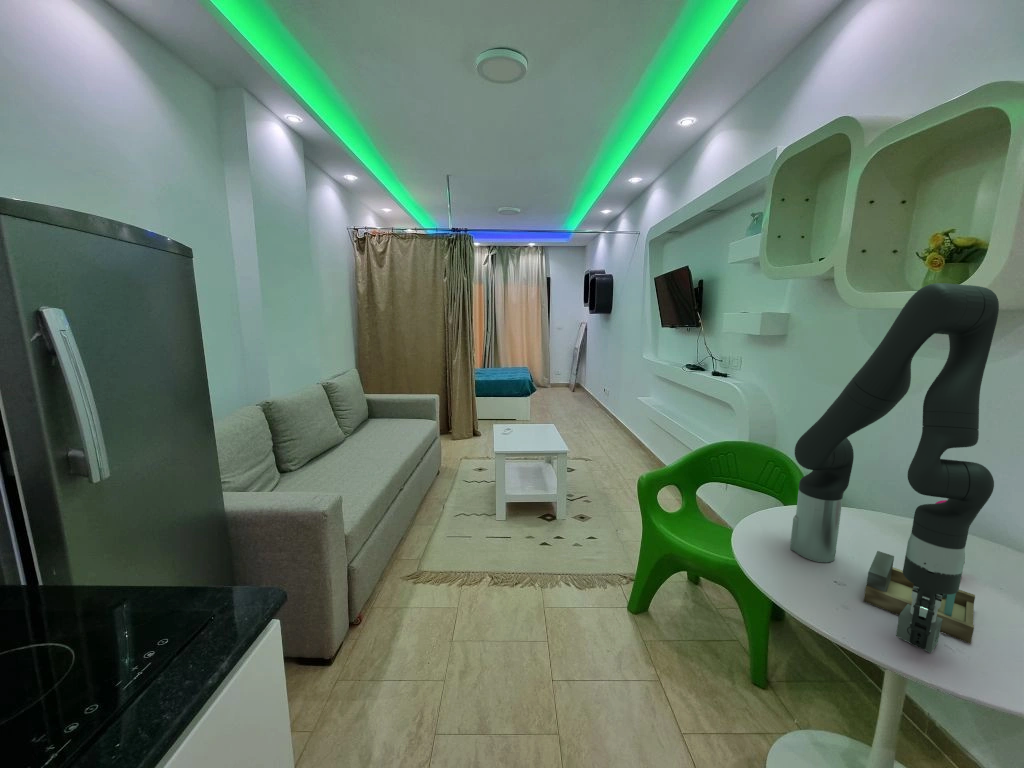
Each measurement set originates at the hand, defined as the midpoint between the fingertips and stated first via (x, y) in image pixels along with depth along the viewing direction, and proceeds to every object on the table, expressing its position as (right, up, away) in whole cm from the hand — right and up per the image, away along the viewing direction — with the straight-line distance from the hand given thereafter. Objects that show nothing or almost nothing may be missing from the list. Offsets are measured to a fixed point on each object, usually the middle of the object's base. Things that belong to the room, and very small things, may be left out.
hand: (919, 637), depth 80 cm
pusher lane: (+9, +1, +9) cm, 13 cm away
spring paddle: (+11, +2, +7) cm, 13 cm away
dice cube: (0, -1, 0) cm, 1 cm away
